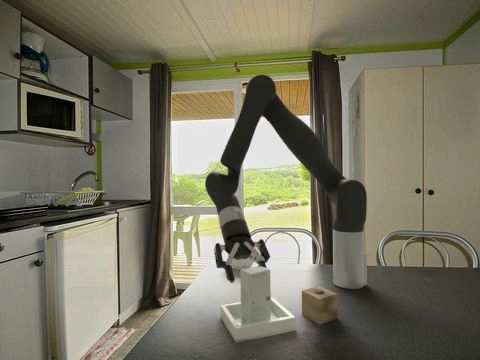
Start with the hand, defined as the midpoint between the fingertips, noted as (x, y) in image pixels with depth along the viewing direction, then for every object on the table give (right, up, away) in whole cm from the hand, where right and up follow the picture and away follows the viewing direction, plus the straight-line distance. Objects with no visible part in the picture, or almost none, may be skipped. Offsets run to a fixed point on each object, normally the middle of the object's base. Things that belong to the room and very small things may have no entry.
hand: (249, 279), depth 73 cm
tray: (+2, -9, -4) cm, 10 cm away
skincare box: (+2, -9, -4) cm, 10 cm away
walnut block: (+17, -9, -1) cm, 20 cm away
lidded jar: (-2, -9, +38) cm, 39 cm away
